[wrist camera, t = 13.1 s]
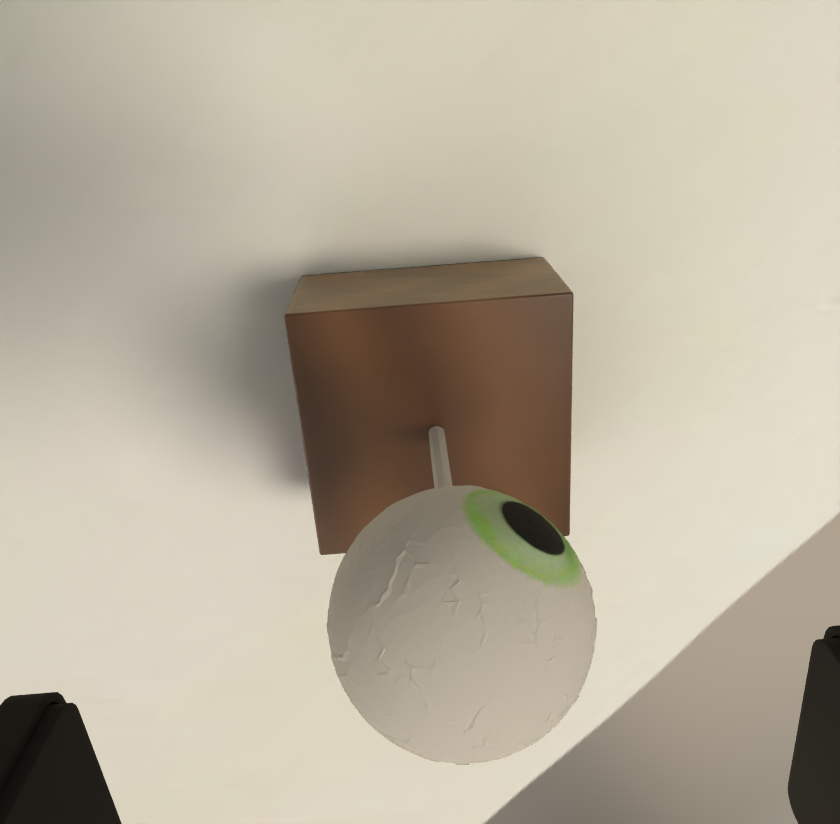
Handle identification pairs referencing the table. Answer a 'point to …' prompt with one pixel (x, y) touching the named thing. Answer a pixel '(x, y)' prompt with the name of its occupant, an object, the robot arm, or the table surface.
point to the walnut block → (432, 386)
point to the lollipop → (461, 622)
